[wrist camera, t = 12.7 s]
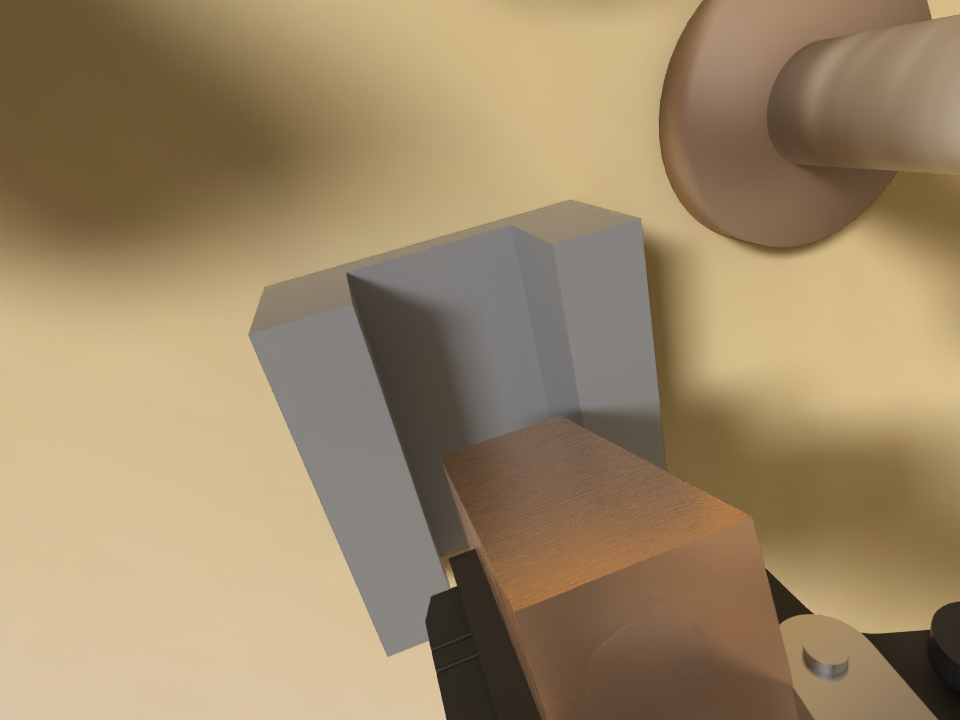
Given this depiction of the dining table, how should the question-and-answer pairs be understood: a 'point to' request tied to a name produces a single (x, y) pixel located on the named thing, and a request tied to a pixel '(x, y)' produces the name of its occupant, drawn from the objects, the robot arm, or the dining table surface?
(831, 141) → the bobbin
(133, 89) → the dining table surface
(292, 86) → the dining table surface
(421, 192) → the dining table surface
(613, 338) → the grooved channel block
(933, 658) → the robot arm
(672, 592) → the copper tab
